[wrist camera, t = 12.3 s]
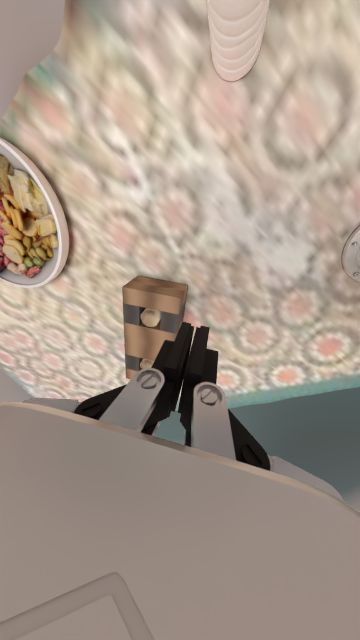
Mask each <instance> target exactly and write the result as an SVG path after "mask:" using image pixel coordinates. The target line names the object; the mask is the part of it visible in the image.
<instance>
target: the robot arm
mask: <svg viewBox="0 0 360 640" xmlns="http://www.w3.org/2000/svg"><path fill="white" fill-rule="evenodd" d="M352 242H353V244H352ZM351 244H352V245H351ZM342 264H343V267H344V270H345V272H346V273H347V275H349V276H350V277H351V278H352V279H354V280H356V281H357V282H360V226H359V227H358V228H357V229H356V230H355V231H354V232H353V234H352V235H351V236H350V238H349V239H348V241H347V243H346V245H345V248H344V250H343V255H342ZM354 272H355V273H354ZM353 273H354V274H353ZM209 328H210V327H205V326H201V327H200V328H198V327H197V328H196V332H195V336H194V339H193V343H192V347H191V342H192V336H193V330H194V327H193V326H191V324H190V323H186V322H182V324H181V326H180V329H179V331H178V333H177V336H176V338H175V341H170V340H165V341H164V343H163V345H162V347H161V349H160V351H159V353H158V355H157V357H156V359H155V361H154V363H153V365H152V367H151V368H145V369H142V370H140V371H138V372H137V373H136V374H135V375H134V377H133V378H132V379H131V380H130V382H129V383H128V384H127V385H124V386H121V387H119V388H116V389H113V390H111V391H108V392H105V393H103V394H100V395H97V396H95V397H92V398H89V399H87V400H85V401H83V402H78V400H72V399H50V398H31V399H29V400H25V401H24V402H22V403H20V402H6V403H0V640H360V512H358V511H357V510H355V509H354V508H352V507H351V506H349V505H347V504H346V503H345V502H344V500H343V499H342V497H341V495H340V494H339V493H338V492H337V491H336V490H335V489H334V488H333V487H332V486H331V485H329V484H328V483H326V482H325V481H323V480H321V479H319V478H317V477H315V476H314V475H311V474H310V473H308V472H306V471H304V470H302V469H300V468H298V467H296V466H294V465H292V464H290V463H288V462H286V461H284V460H283V459H280V458H279V457H277V456H275V455H274V456H273V457H271V456H269V455H267V453H266V452H265V450H264V449H263V448H262V446H261V445H260V444H259V443H258V442H257V441H256V440H255V439H254V437H253V436H252V435H251V434H250V433H249V432H248V431H247V430H246V428H245V427H244V426H243V425H242V424H241V423H240V422H239V421H238V419H237V418H236V417H235V416H234V415H233V414H232V413H231V412H230V410H229V409H228V408H227V402H226V396H225V393H224V392H223V390H222V389H221V388H220V387H219V386H218V385H216V378H217V364H218V351H214V350H210V349H206V347H207V341H208V334H209ZM190 347H191V351H190ZM189 353H190V354H189ZM183 379H184V380H183ZM182 382H183V385H182ZM181 386H182V391H181V397H180V402H179V408H178V413H181V418H180V422H181V423H182V425H183V427H184V428H185V436H184V445H181V444H178V443H175V442H171V441H168V440H165V439H161V438H158V437H154V435H155V433H156V431H157V429H158V427H159V424H160V421H162V420H163V419H165V418H167V417H169V416H170V412H171V411H175V409H176V405H177V401H178V397H179V394H180V390H181Z"/></svg>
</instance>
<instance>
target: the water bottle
mask: <svg viewBox="0 0 360 640" xmlns="http://www.w3.org/2000/svg"><path fill="white" fill-rule="evenodd" d="M206 1H207V11H208V21H209V30H210V41H211V52H212V60H213V64H214V67H215V70H216V71H217V73H218V75H219V76H220V77H221V78H222V79H224V80H228V81H236V80H239V79H240V78H241V77H243V76H245V75H246V74H247V73H248V72H249V71H250V69H251V68H252V67H253V65H254V63H255V61H256V59H257V57H258V54H259V51H260V48H261V43H262V38H263V32H264V27H265V22H266V17H267V12H268V7H269V2H270V0H206Z"/></svg>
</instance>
